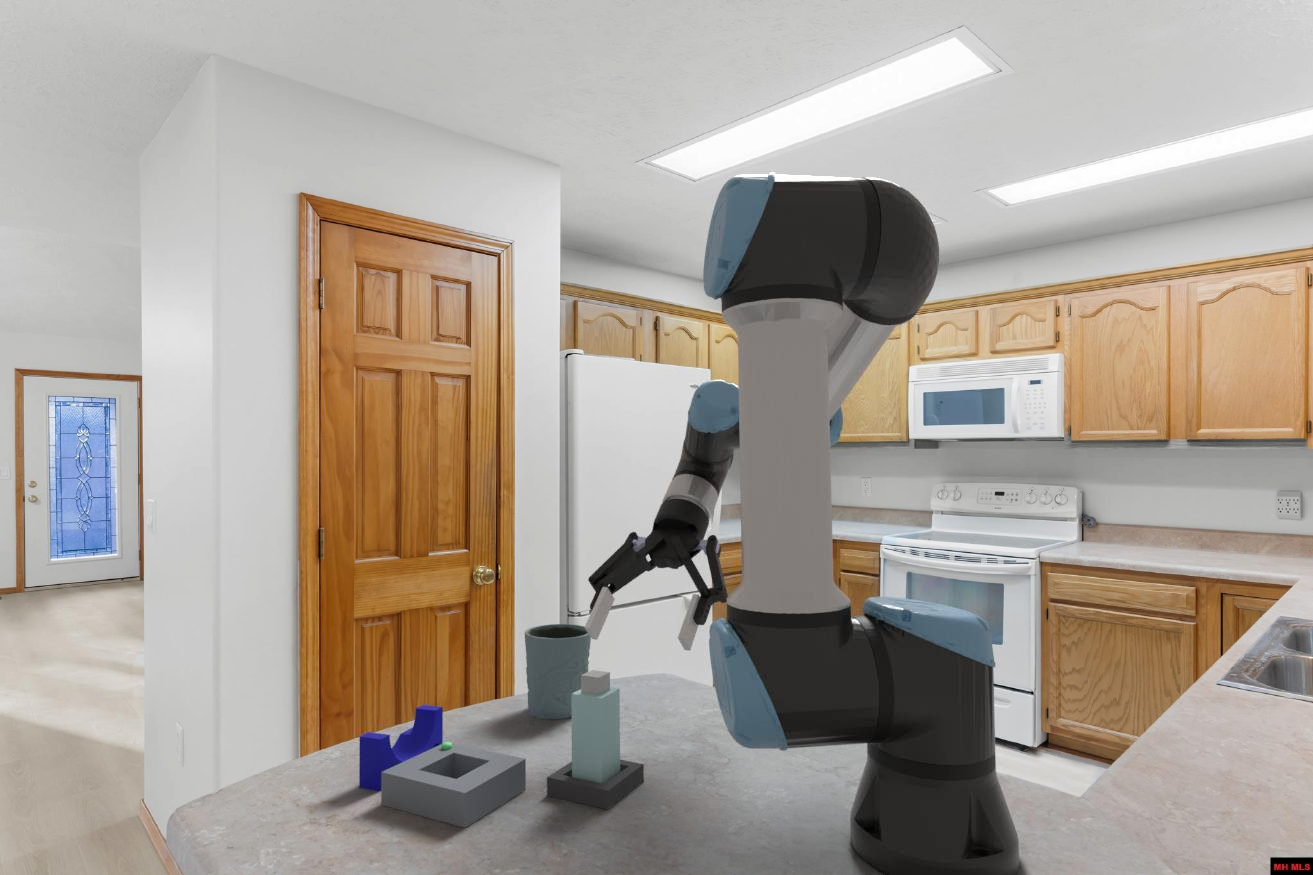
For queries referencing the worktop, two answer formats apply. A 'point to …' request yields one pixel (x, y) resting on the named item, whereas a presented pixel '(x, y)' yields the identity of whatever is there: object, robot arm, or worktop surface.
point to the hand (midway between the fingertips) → (635, 639)
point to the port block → (453, 783)
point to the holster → (595, 785)
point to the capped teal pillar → (596, 728)
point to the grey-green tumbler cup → (555, 667)
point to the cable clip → (398, 746)
